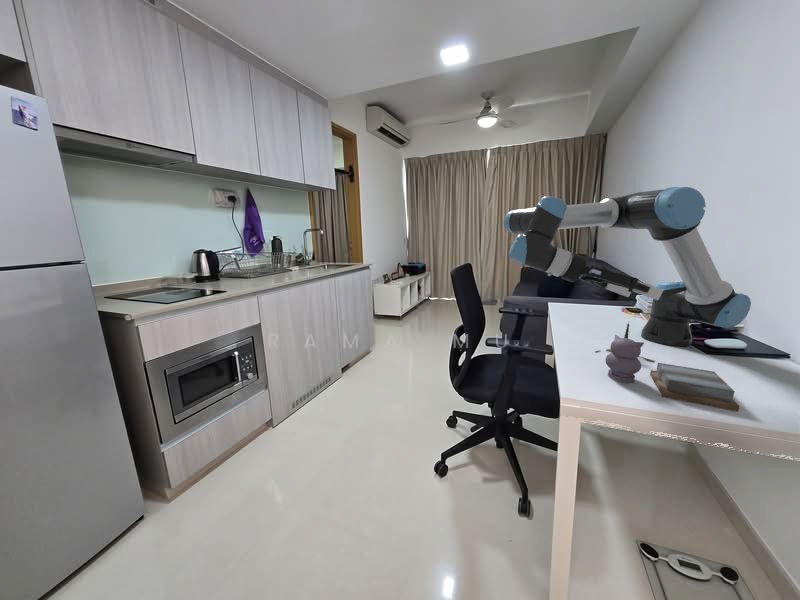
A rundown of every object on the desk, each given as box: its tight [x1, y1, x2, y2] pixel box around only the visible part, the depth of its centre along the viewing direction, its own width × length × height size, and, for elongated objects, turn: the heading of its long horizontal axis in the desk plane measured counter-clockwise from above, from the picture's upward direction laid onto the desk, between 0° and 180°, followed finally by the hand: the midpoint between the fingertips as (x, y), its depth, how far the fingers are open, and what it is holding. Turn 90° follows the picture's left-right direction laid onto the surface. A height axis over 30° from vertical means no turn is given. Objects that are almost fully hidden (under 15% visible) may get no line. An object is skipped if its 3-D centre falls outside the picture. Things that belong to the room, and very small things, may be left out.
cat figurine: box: [605, 334, 645, 384], centre depth 87 cm, size 9×8×12 cm
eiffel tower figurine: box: [594, 322, 657, 363], centre depth 102 cm, size 15×10×13 cm
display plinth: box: [649, 362, 740, 413], centre depth 81 cm, size 14×14×4 cm
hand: (644, 293), depth 82 cm, fingers open, 13 cm apart
